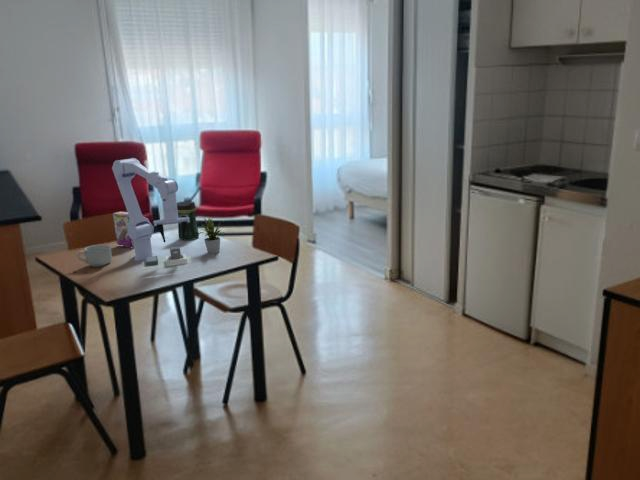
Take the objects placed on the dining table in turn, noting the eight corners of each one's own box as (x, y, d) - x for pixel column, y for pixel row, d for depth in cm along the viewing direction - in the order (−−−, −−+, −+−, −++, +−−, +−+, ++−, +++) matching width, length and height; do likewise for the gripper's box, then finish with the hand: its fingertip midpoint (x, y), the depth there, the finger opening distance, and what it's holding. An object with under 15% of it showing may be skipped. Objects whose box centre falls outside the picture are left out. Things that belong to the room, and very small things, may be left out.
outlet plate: (142, 262, 257) (141, 257, 256) (189, 256, 262) (188, 251, 262) (142, 270, 245) (141, 264, 244) (192, 264, 250) (191, 258, 250)
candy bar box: (116, 246, 289) (111, 213, 285) (124, 244, 293) (120, 211, 289) (132, 248, 283) (127, 214, 279) (140, 246, 287) (136, 212, 283)
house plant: (189, 252, 270) (185, 217, 266) (215, 246, 278) (212, 212, 275) (206, 257, 259) (202, 221, 255) (232, 251, 268) (229, 215, 264)
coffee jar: (201, 236, 300) (197, 200, 296) (194, 240, 293) (190, 203, 288) (183, 236, 303) (179, 200, 298) (176, 240, 295) (172, 203, 291)
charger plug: (171, 261, 255) (169, 247, 253) (180, 259, 256) (179, 246, 254) (171, 263, 251) (170, 249, 249) (181, 262, 252) (180, 248, 250)
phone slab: (145, 260, 258) (145, 257, 257) (157, 259, 259) (157, 255, 259) (146, 266, 249) (145, 262, 249) (158, 264, 251) (157, 260, 250)
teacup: (112, 260, 264) (110, 242, 262) (113, 266, 254) (111, 248, 252) (79, 265, 259) (76, 247, 257) (78, 271, 249) (76, 253, 247)
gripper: (152, 212, 242) (156, 244, 245) (188, 208, 246) (192, 240, 249) (152, 209, 249) (155, 241, 252) (187, 205, 252) (190, 237, 256)
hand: (173, 240), depth 251 cm, fingers open, 7 cm apart
